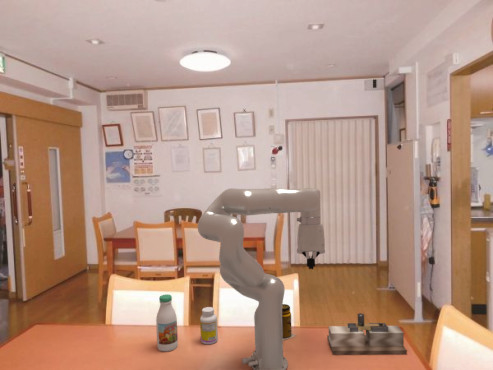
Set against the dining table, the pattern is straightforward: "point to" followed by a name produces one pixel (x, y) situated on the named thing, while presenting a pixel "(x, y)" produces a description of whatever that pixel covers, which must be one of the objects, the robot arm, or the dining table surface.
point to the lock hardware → (382, 327)
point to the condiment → (286, 322)
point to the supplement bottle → (208, 326)
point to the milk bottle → (166, 325)
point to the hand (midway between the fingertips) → (310, 268)
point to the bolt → (364, 326)
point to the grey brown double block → (366, 341)
